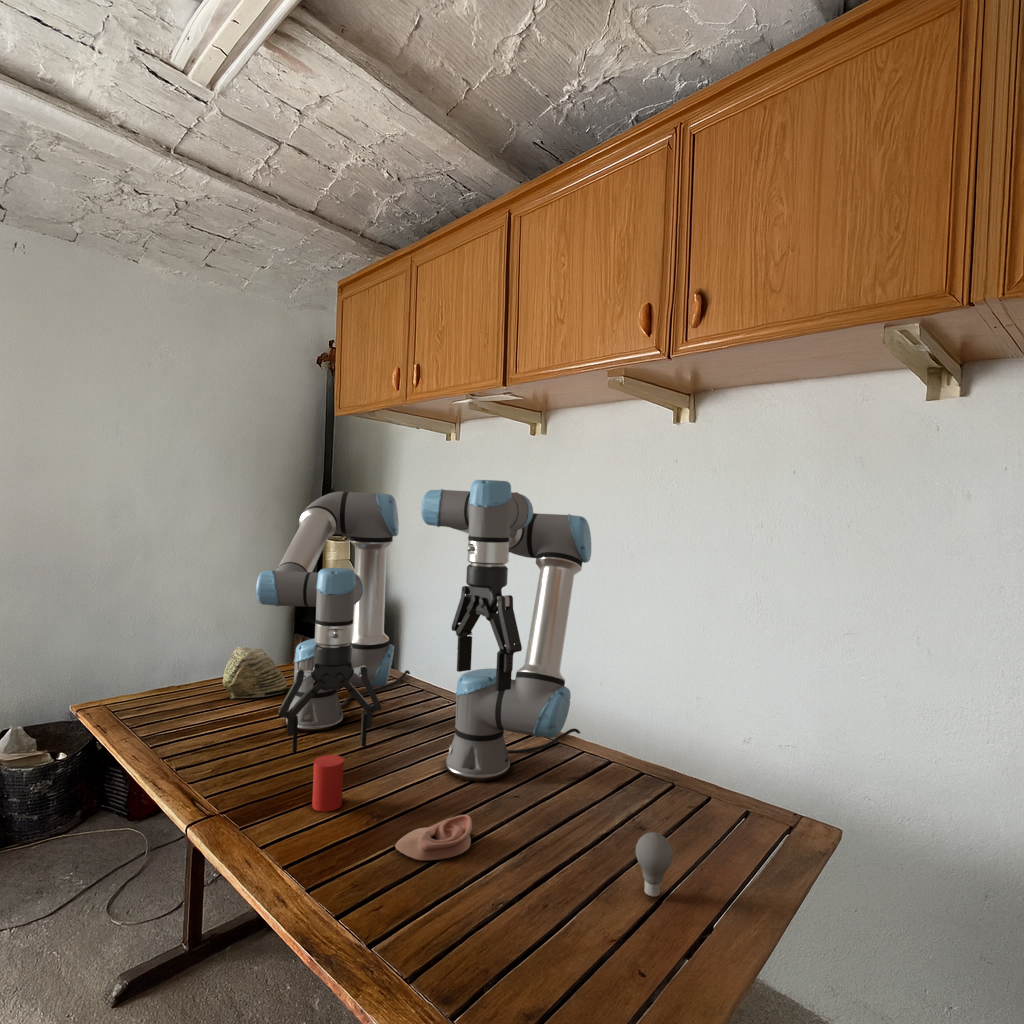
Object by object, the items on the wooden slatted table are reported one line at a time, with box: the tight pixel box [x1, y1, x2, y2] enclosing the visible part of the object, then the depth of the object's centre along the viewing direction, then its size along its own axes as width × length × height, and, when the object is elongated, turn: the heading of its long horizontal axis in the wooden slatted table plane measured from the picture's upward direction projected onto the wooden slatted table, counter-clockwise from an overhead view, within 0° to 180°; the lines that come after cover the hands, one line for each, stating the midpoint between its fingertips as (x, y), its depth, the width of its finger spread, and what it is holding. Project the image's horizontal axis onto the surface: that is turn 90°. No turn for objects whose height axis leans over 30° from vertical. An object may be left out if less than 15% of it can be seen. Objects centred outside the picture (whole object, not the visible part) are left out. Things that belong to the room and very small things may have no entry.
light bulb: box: [635, 831, 674, 897], centre depth 105 cm, size 6×6×10 cm
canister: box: [311, 754, 345, 813], centre depth 130 cm, size 6×6×9 cm
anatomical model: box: [394, 814, 473, 861], centre depth 117 cm, size 13×4×12 cm
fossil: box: [222, 646, 288, 699], centre depth 198 cm, size 9×18×15 cm, turn 132°
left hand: (329, 747), depth 130 cm, fingers open, 13 cm apart
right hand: (482, 679), depth 116 cm, fingers open, 13 cm apart
